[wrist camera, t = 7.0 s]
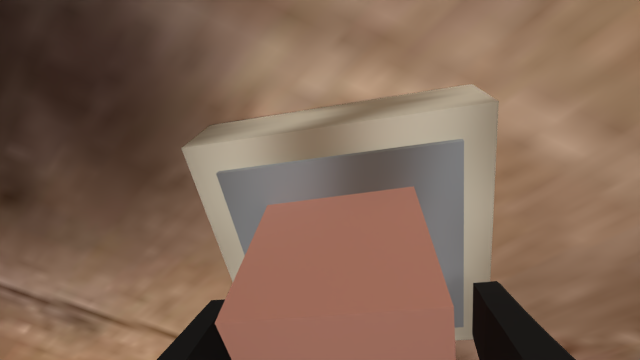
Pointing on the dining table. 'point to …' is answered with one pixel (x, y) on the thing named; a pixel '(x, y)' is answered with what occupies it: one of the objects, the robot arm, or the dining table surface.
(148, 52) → the dining table surface
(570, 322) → the dining table surface
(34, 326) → the dining table surface
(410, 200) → the block
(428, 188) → the base
